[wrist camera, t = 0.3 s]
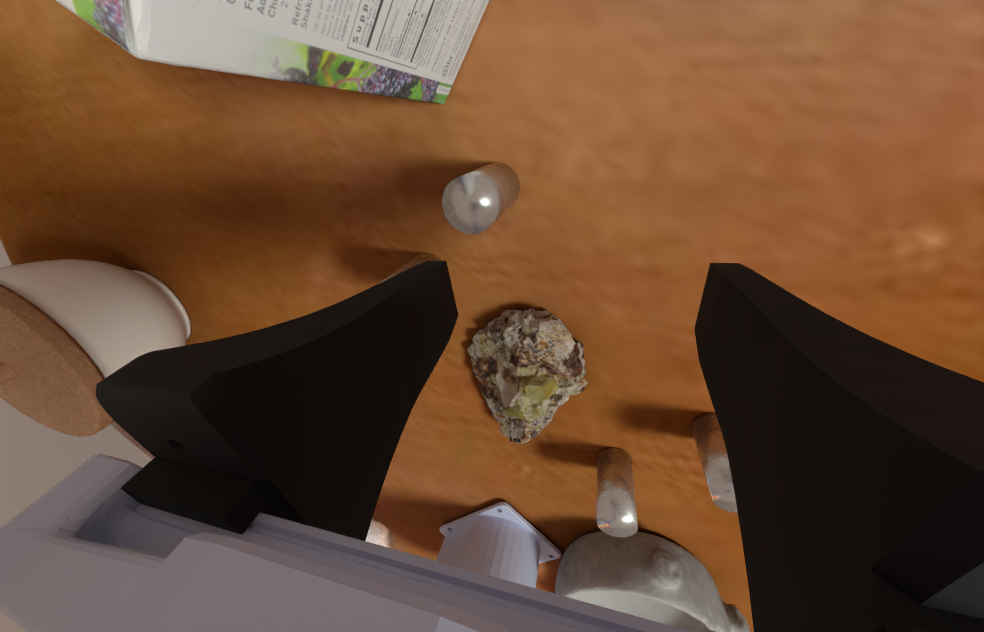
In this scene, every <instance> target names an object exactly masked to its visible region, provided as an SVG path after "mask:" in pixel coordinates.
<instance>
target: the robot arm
mask: <svg viewBox="0 0 984 632" xmlns="http://www.w3.org/2000/svg"><path fill="white" fill-rule="evenodd" d="M457 317H458V312H457V308H456V303H455V299H454V294H453V290H452V285H451V281H450V276H449V272H448V267H447V263H446V261H426V262H423V263H420V264H418V265H416V266H413V267H411V268H409V269H407V270H405V271H403V272H401V273H399V274H397V275H395V276H393V277H391V278H389V279H387V280H385V281H383V282H381V283H379V284H377V285H375V286H373V287H371V288H369V289H367V290H365V291H363V292H361V293H359V294H356V295H354V296H352V297H350V298H348V299H346V300H344V301H341V302H339V303H337V304H334V305H332V306H329V307H327V308H324V309H322V310H319V311H316V312H314V313H311V314H308V315H306V316H303V317H300V318H296V319H293V320H290V321H287V322H283V323H280V324H277V325H274V326H271V327H267V328H264V329H260V330H256V331H252V332H248V333H244V334H240V335H236V336H232V337H227V338H223V339H218V340H213V341H208V342H203V343H197V344H192V345H186V346H180V347H174V348H169V349H163V350H156V351H152V352H149V353H146V354H143V355H141V356H139V357H137V358H135V359H134V360H132V361H131V362H129V363H128V364H126V365H124V366H123V367H121V368H120V369H118V370H117V371H115V372H114V373H112V374H111V375H109V376H108V377H106V378H105V379H103V380H102V381H100V382H99V383H97V385H96V393H95V395H96V397H97V400H98V402H99V404H100V405H101V406H102V408H103V409H104V410H105V411H106V413H107V414H108V415H109V416H110V417H111V418H112V419H113V420H114V421H115V422H116V423H118V424H119V425H120V426H121V427H122V428H123V429H124V430H125V431H126V432H128V433H129V434H130V435H131V436H132V437H133V438H134V439H135V440H136V441H138V442H139V443H140V444H141V445H142V446H143V447H144V448H145V449H146V450H148V451H149V452H150V453H151V454H152V455H153V456H155V458H154V459H153V460H152V461H150V462H149V463H148V464H147V465H146V466H145V467H144V468H141V467H140V466H138V465H136V464H134V463H132V462H129V461H126V460H122V459H119V458H114V457H111V456H107V455H103V454H97V455H94V456H92V457H91V458H90V459H89V460H87V461H86V462H85V463H83V464H82V465H81V466H80V467H79V468H77V469H76V470H75V471H73V472H72V473H71V474H69V475H68V476H67V477H66V478H64V479H63V480H62V481H61V482H59V483H58V484H57V485H55V486H54V487H53V488H52V489H51V490H49V491H48V492H46V493H45V494H44V495H43V496H41V497H40V498H39V499H37V500H36V501H35V502H34V503H32V504H31V505H30V506H28V507H27V508H26V509H25V510H23V511H22V512H21V513H20V514H18V515H17V516H16V517H14V518H13V519H12V520H11V521H9V522H8V523H7V524H6V525H4V526H3V527H2V528H0V612H2V613H3V614H4V615H6V616H7V617H8V618H10V619H11V620H13V621H14V622H16V623H17V624H18V625H20V626H21V627H22V628H24V629H25V630H26V631H28V632H692V631H688V630H685V629H681V628H678V627H674V626H670V625H667V624H663V623H659V622H656V621H652V620H649V619H645V618H641V617H638V616H634V615H630V614H627V613H623V612H619V611H616V610H612V609H609V608H605V607H601V606H598V605H594V604H590V603H587V602H583V601H580V600H576V599H572V598H569V597H565V596H561V595H558V594H554V593H551V592H547V591H543V590H540V589H536V581H537V574H538V567H539V563H542V562H546V561H550V560H554V559H558V558H560V557H561V551H560V550H559V549H558V548H557V547H556V546H555V545H553V544H552V543H551V542H550V541H549V540H548V539H547V538H546V537H544V536H543V535H542V534H541V533H540V532H539V531H538V530H537V529H536V528H534V527H533V526H532V525H531V524H530V523H529V522H528V521H527V520H525V519H524V518H523V517H522V516H521V515H520V514H519V513H518V512H517V511H515V510H514V509H513V508H512V507H511V506H510V505H509V504H508V503H506V502H499V503H496V504H494V505H491V506H489V507H486V508H484V509H482V510H479V511H477V512H474V513H472V514H469V515H467V516H464V517H462V518H459V519H457V520H454V521H452V522H449V523H447V524H444V525H442V526H441V527H440V529H439V531H440V532H441V533H442V534H443V535H444V536H445V538H444V541H443V544H442V546H441V549H440V552H439V554H438V557H437V560H436V561H435V560H431V559H427V558H424V557H420V556H416V555H413V554H409V553H405V552H402V551H398V550H395V549H391V548H387V547H384V546H380V545H376V544H373V543H369V542H366V541H365V540H366V537H367V533H368V530H369V527H370V523H371V520H372V517H373V514H374V510H375V507H376V504H377V500H378V497H379V495H380V492H381V489H382V486H383V483H384V480H385V477H386V474H387V471H388V468H389V465H390V463H391V460H392V457H393V455H394V452H395V450H396V447H397V444H398V442H399V439H400V436H401V434H402V432H403V429H404V427H405V424H406V422H407V420H408V417H409V415H410V413H411V410H412V408H413V406H414V404H415V402H416V400H417V398H418V396H419V394H420V392H421V390H422V389H423V387H424V385H425V383H426V381H427V380H428V378H429V376H430V374H431V373H432V371H433V369H434V367H435V365H436V364H437V362H438V360H439V358H440V356H441V355H442V353H443V351H444V349H445V347H446V345H447V343H448V342H449V339H450V337H451V334H452V332H453V329H454V326H455V323H456V320H457ZM695 335H696V343H697V350H698V356H699V361H700V365H701V368H702V371H703V375H704V378H705V381H706V385H707V388H708V391H709V394H710V397H711V400H712V404H713V407H714V410H715V413H716V416H717V419H718V422H719V426H720V429H721V432H722V435H723V439H724V443H725V447H726V451H727V455H728V460H729V466H730V471H731V476H732V482H733V487H734V493H735V499H736V505H737V511H738V517H739V523H740V529H741V535H742V542H743V549H744V556H745V564H746V571H747V578H748V585H749V593H750V602H751V610H752V619H753V627H754V632H984V383H983V382H981V381H978V380H975V379H973V378H970V377H967V376H965V375H962V374H959V373H957V372H954V371H951V370H949V369H946V368H943V367H941V366H938V365H936V364H933V363H931V362H928V361H926V360H923V359H921V358H919V357H916V356H914V355H912V354H909V353H907V352H905V351H902V350H900V349H898V348H896V347H893V346H891V345H889V344H887V343H884V342H882V341H880V340H878V339H875V338H873V337H871V336H869V335H867V334H865V333H863V332H861V331H859V330H857V329H855V328H853V327H851V326H849V325H847V324H845V323H843V322H841V321H839V320H837V319H835V318H833V317H832V316H830V315H828V314H826V313H824V312H822V311H820V310H819V309H817V308H815V307H813V306H811V305H810V304H808V303H806V302H805V301H803V300H801V299H799V298H798V297H796V296H794V295H793V294H791V293H789V292H788V291H786V290H784V289H783V288H781V287H779V286H778V285H776V284H774V283H773V282H771V281H770V280H768V279H766V278H765V277H763V276H761V275H760V274H758V273H756V272H755V271H753V270H751V269H749V268H748V267H746V266H744V265H741V264H739V263H710V267H709V271H708V275H707V279H706V283H705V287H704V292H703V296H702V300H701V304H700V308H699V312H698V317H697V321H696V325H695Z"/></svg>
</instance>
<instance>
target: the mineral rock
mask: <svg viewBox="0 0 984 632" xmlns="http://www.w3.org/2000/svg"><path fill="white" fill-rule="evenodd" d="M472 341H473V343H472V344H471V345H470V346H469V347H468V348H467V352H468V353H469V354H470V356H471V363H472V365H473V368H472V371H473V373H474V374H475V376H476V377H477V378H478V380H479V382H478V385H477V386H478V387H480V389H479V391H480V392H481V394H482V395H483V396H484V397H485V398H484V400H485V401H486V406H487V407H489V408H490V413H493V417H495V420H496V421H497V422H498V423H499V428H500V431H501V433H502V434H504V435H505V436H507V437H509V438H510V441H514V442H516V443H518V444H523V443H526V442H528V441H529V440H530V439H531V438H534V439H535V437H536V436H537V435H539V434H540V432H541V431H542V429H543V428H544V427H546V426H547V425H548V424H549V423H551V421H552V419H553V415H554V413H555V411H556V410H557V408H558V407H559V406H562V405H563V404H564V403H565V402H566V401H567V400H569V395H576V394H579V393H581V392H582V391H584V389H586V385H588V382H587V381H586V379H585V378H584V375H585V374H586V372H587V371H586V370H585V368H584V366H585V360H584V353H583V351H584V345H583V344H582V343H581V342H580V341H577V342H575V341H574V340H573V339H572V336H571V334H570V331H569V330H568V328H567V327H566V325H565V324H564V323H562V322H561V321H560V319H559V318H558V317H555V316H554V315H553V314H550V313H549V312H548V311H547V310H545V311H536V310H534V309H532V308H530V309H528V310H525V311H520V310H515V309H514V310H509V309H507V310H505V311H503V312H502V314H501V316H500V317H499V318H494V319H493V320H492V321H491V322H489V323H488V324H487V325H486V326H485V327H484V328H483V329H482V330H480V331H478V332H477V333H476V334H475V335H474V337H473V340H472Z"/></svg>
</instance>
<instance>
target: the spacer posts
mask: <svg viewBox="0 0 984 632" xmlns="http://www.w3.org/2000/svg"><path fill="white" fill-rule="evenodd" d="M519 189H520V184H519V179H518V177H517V175H516V173H515V171H514V170H513V169H512V168H511V167H509V166H508V165H506V164H504V163H499V162H496V163H491V164H488V165H486V166H483V167H481V168H479V169H476V170H474V171H471V172H469V173H467V174H464V175H462V176H459V177H457V178H455V179H453V180H452V181H451V182H450V183H449V184H448V185H447V187H446V188H445V190H444V193H443V197H442V208H443V212H444V215H445V217H446V219H447V220H448V222H449V223H450V224H451V225H452V226H453V227H454V228H455V229H457V230H458V231H460V232H463V233H466V234H477V233H480V232H483V231H484V230H486V229H487V228H488V227H489V226H490V225H491V224H492V223H493V222H494V221H496V220H497V219H498V218H499V217H500V216H501V215H502V214H503V213H504V212H505V211H506V210H507V209H508V208H509V207H510V206H511V205H512V204H513V203H514V202H515V200H516V199H517V197H518V194H519ZM426 261H439V260H438V259H437V258H436V257H435V256H433V255H431V254H427V253H421V254H418V255H416V256H415V257H413V258H412V259H411V260H409V261H408V262H407V263H405V264H404V265H403V266H401V267H400V268H399V269H397V270H396V271H395V272H393V273H392V274H391V275H389V276H388V277H387V278H385V279H384V280H383V281H385V280H387V279H389V278H391V277H393V276H395V275H397V274H399V273H401V272H403V271H405V270H407V269H409V268H411V267H413V266H416V265H418V264H420V263H423V262H426ZM383 281H381V282H383ZM381 282H380V283H381ZM691 430H692V433H693V437H694V440H695V443H696V447H697V450H698V453H699V457H700V460H701V464H702V467H703V470H704V474H705V477H706V481H707V484H708V487H709V491H710V494H711V498H712V500H713V502H714V503H715V504H716V505H717V506H718V507H719V508H721V509H723V510H726V511H730V512H735V513H738V511H737V505H736V499H735V493H734V487H733V482H732V476H731V471H730V466H729V460H728V455H727V451H726V447H725V443H724V439H723V435H722V432H721V429H720V426H719V422H718V419H717V416H716V413H707V414H703V415H701V416H699V417H697V418H696V419H695V420H694V421H693V422H692V425H691ZM597 525H598V527H599V528H600V529H601V530H602V531H603V532H604V533H606V534H608V535H611V536H615V537H629V536H632V535H634V534H635V533H636V532H637V530H638V524H637V513H636V502H635V491H634V481H633V470H632V460H631V457H630V455H629V454H628V453H627V452H625V451H624V450H622V449H619V448H605V449H603V450H601V451H600V452H599V453H598V455H597Z"/></svg>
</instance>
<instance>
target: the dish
mask: <svg viewBox="0 0 984 632" xmlns="http://www.w3.org/2000/svg"><path fill="white" fill-rule="evenodd" d="M555 594H558V595H561V596H565V597H569V598H572V599H576V600H580V601H583V602H587V603H590V604H594V605H598V606H601V607H605V608H609V609H612V610H616V611H619V612H623V613H627V614H630V615H634V616H638V617H641V618H645V619H649V620H652V621H656V622H659V623H663V624H667V625H670V626H674V627H678V628H681V629H685V630H688V631H692V632H750V629H749V625H748V623H747V620H746V618H745V617H744V616H743V614H742V613H741V612H740V611H739V610H738V608H737V607H736V606H735V605H732V604H726V603H724V602H723V601H722V599H721V598H720V595H719V593H718V590H717V588H716V585H715V583H714V581H713V579H712V577H711V575H710V574H709V572H708V571H707V569H706V568H705V567H704V565H703V564H702V563H701V562H700V561H699V560H698V559H697V558H695V557H694V556H693V555H692V554H690V553H689V552H687V551H686V550H684V549H683V548H681V547H680V546H678V545H677V544H675V543H673V542H670V541H668V540H666V539H664V538H661V537H658V536H655V535H651V534H647V533H643V532H636V533H635V534H634V535H632V536H629V537H615V536H611V535H608V534H606V533H604V532H603V531H598V532H593V533H589V534H586V535H583V536H581V537H579V538H578V539H576V540H575V541H574V542H572V543H571V544H570V545H569V546H568V548H567V549H566V551H565V553H564V555H563V557H562V560H561V562H560V565H559V568H558V572H557V577H556V584H555Z"/></svg>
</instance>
